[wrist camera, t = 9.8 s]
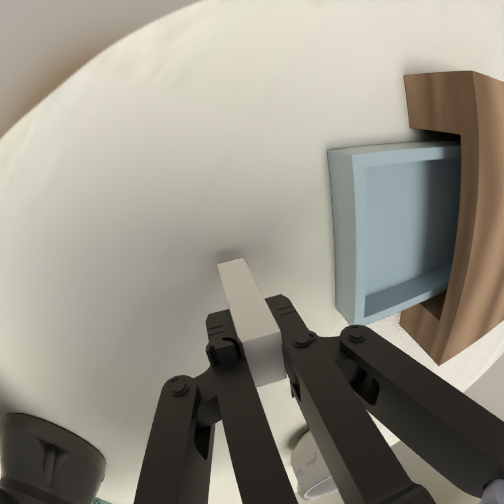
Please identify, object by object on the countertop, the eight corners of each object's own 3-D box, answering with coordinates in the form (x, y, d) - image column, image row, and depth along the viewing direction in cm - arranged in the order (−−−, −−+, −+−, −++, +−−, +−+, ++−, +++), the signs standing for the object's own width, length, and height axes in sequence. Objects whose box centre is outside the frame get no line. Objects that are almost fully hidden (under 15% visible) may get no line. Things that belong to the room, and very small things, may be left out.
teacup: (327, 401, 28) (357, 458, 20) (376, 411, 32) (403, 454, 25) (252, 460, 30) (266, 510, 23) (307, 463, 35) (324, 503, 27)
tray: (335, 307, 22) (353, 329, 19) (326, 149, 17) (351, 154, 14) (483, 248, 24) (502, 259, 22) (492, 141, 19) (514, 146, 17)
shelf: (399, 324, 25) (438, 366, 19) (403, 75, 15) (472, 70, 10) (480, 282, 27) (516, 309, 21) (494, 94, 17) (543, 100, 11)
